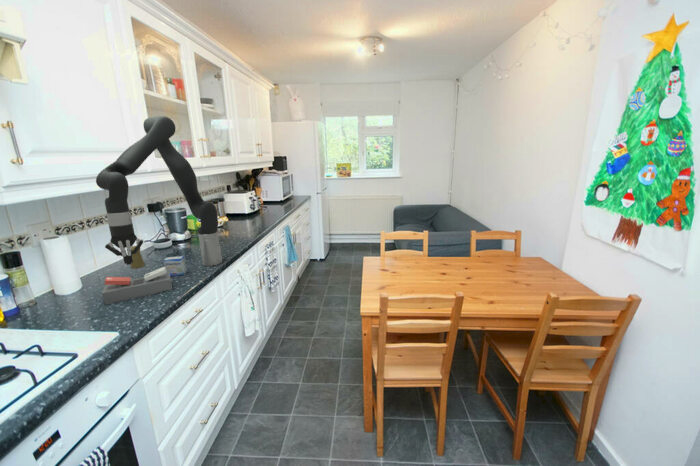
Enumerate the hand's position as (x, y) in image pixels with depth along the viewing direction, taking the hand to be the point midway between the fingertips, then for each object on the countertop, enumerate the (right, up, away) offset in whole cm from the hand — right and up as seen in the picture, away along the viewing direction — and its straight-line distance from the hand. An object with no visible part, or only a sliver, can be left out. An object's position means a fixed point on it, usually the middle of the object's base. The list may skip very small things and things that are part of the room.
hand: (129, 264), depth 120 cm
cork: (-21, -5, +34) cm, 40 cm away
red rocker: (-4, -7, 0) cm, 8 cm away
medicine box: (+6, -8, +24) cm, 26 cm away
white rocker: (+7, -5, +6) cm, 10 cm away
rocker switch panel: (+1, -13, +5) cm, 14 cm away
